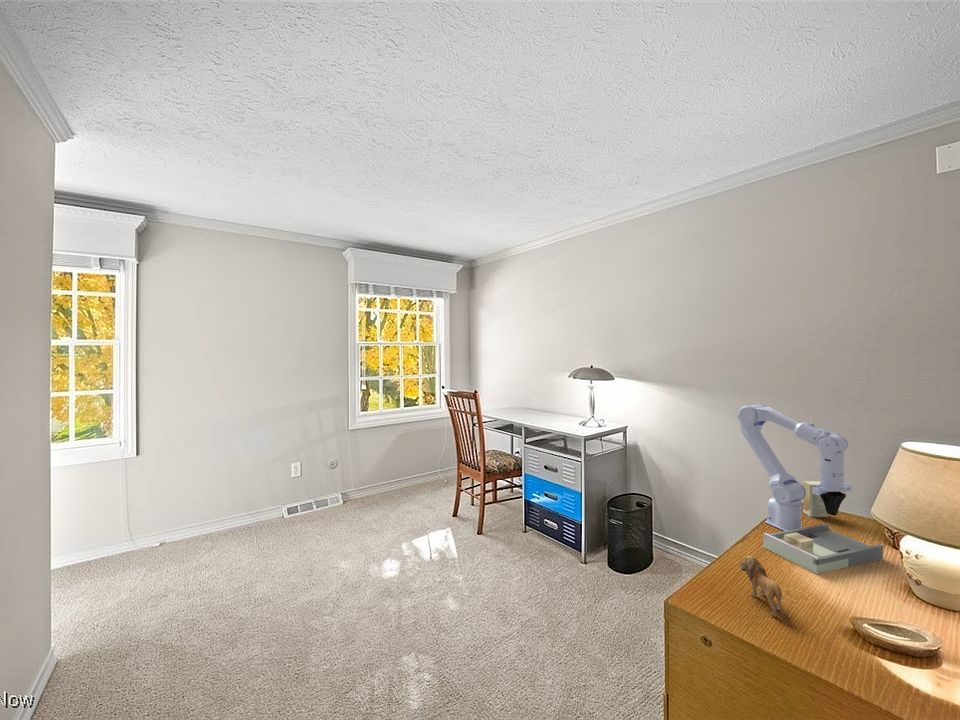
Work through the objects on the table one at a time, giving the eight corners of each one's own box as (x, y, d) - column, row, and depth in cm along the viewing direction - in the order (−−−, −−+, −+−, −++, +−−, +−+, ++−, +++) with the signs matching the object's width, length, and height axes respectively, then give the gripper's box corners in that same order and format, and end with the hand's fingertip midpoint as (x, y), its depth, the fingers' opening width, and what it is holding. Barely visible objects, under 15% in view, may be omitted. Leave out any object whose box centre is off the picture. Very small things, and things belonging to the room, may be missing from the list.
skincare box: (820, 512, 159) (820, 480, 158) (828, 517, 154) (829, 484, 154) (801, 512, 159) (802, 480, 159) (809, 517, 155) (810, 484, 155)
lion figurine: (734, 586, 112) (735, 553, 111) (753, 585, 112) (754, 552, 112) (779, 623, 97) (780, 585, 97) (800, 621, 98) (801, 584, 97)
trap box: (763, 547, 133) (763, 533, 133) (825, 535, 140) (825, 522, 140) (816, 574, 117) (816, 558, 117) (882, 559, 125) (883, 544, 125)
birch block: (783, 547, 127) (784, 534, 127) (795, 545, 129) (796, 532, 129) (800, 555, 123) (800, 542, 122) (813, 553, 124) (813, 539, 124)
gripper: (829, 478, 128) (828, 522, 129) (862, 473, 133) (861, 516, 133) (805, 471, 135) (805, 513, 136) (837, 467, 139) (837, 508, 140)
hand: (831, 514), depth 135 cm, fingers closed
